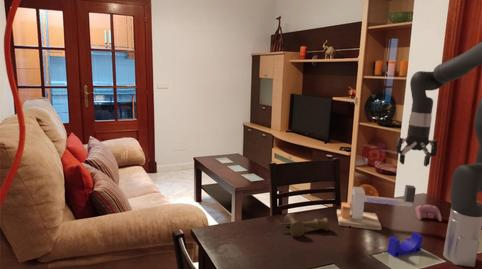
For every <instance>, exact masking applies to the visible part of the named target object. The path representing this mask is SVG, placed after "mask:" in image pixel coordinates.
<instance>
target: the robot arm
mask: <svg viewBox="0 0 482 269" xmlns="http://www.w3.org/2000/svg"><path fill="white" fill-rule="evenodd" d="M481 65H482V41H481V42H479V43H477V44H476V45H474V46H473V47H471V48H470V49H468V50H467V51H465V52H463V53H461V54H459V55H457V56H454V57H453V58H450V59H449V60H446V61H445V62H442V63H440V64H438V65H437V66H435V67H434V69H433V71H423V70H422V71H416V72H415V73H414V74H413V75H412V76H411V78H410V81H409V82H410V83H409V84H410V87H409V88H410V93H411V98H412V103H411V104H412V105H411V110H410V115H409V119H408V126H407V134H406V138H405V137H404V138H403V137H397V141H396V147H395V152H396V153H397V154H399V163H400V164H401V165H405V161H406V160H405V159H406V154H407V153H408V152H410V151H411V150H412V151H420V152H421V151H423V153H424V154H425V156H424V159H423V166H424V167H428V166H429V165H430V163H431V162H430V161H431V157H436V156H437V153H438V141H437V140H436V139H432V140H430V133H431V127H432V126H431V125H432V115H433V106H434V99H433V98H432V97H429V96H428V95H427V91H429V92H430V91H436V90H439V89H441V88H443V86H445V85H446V84H448V83H450V82H453V81H456V80H458V79H460V78H462V77H465V76H467V75H468V74H469V73H470V72H472V70H474V69H475V68H477V67H479V66H481ZM473 128H474V132H475V136H476V139H477V145H478V149H477V150H478V151H477V155H476V159H475V161H474V163H472V164H461V165H458V166H457V167H456V168H455V170H454V172H453V174H452V179H451V185H450V187H451V188H450V198H449V199H450V205H451V206H450V211H449V212H450V214H449V217H448V224H447V228H446V235H445V240H444V248H443V253H442V254H443V257H444V258H445V259H446V260H447V261H449V262H451V263H452V264H453V265H455V266H462V267H463V266H464V267H471V268H474V267H475V265H476V260H477V256H478V249H479V246H480V236H481V232H482V203H480V202H478V200H477V199H478V194H479V193H481V194H482V98H481V99H480V100H479V103H478V105H477V109H476V112H475V115H474V120H473ZM405 143H406V145H404V146H403V144H405ZM429 145H430V146H431V147H430V150H429V149H428V148H427V146H429ZM402 146H403V148H402Z"/></svg>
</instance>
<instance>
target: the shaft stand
mask: <svg viewBox="0 0 482 269" xmlns="http://www.w3.org/2000/svg"><path fill="white" fill-rule="evenodd" d="M351 191H352V192H351V200H350V207H351V208H350V217H349V219H345V218H342V214H341V208H340V209H339V208H338V209H336V215H337V220H338V226H342V227H349V226H351V227H350V228H359V229H366V230H367V229H368V230H374V231H375V230H377V231H381V230H382V228H383V227H382V225H381V222H380V220H379V217H378V216H377V214H376V213H374V212H366V211H364V208H365V196H366V192H365V190H364V187H360V186H352V190H351Z"/></svg>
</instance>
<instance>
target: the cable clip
mask: <svg viewBox="0 0 482 269" xmlns="http://www.w3.org/2000/svg"><path fill="white" fill-rule="evenodd" d="M423 238H424V236H423V235H421V234H419V233H418V232H412V235H411V237H410V238H405V239H404V240H403V241H402V242H401V241H400V240H399V239H398V238H397V237H395V236H390V237H389V238H388V247H387V254H389V255H390V256H392V257H393V258H396V257H401V256H406V255H412V254H416V253H421V250H422V244H423ZM400 242H401V243H400Z"/></svg>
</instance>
